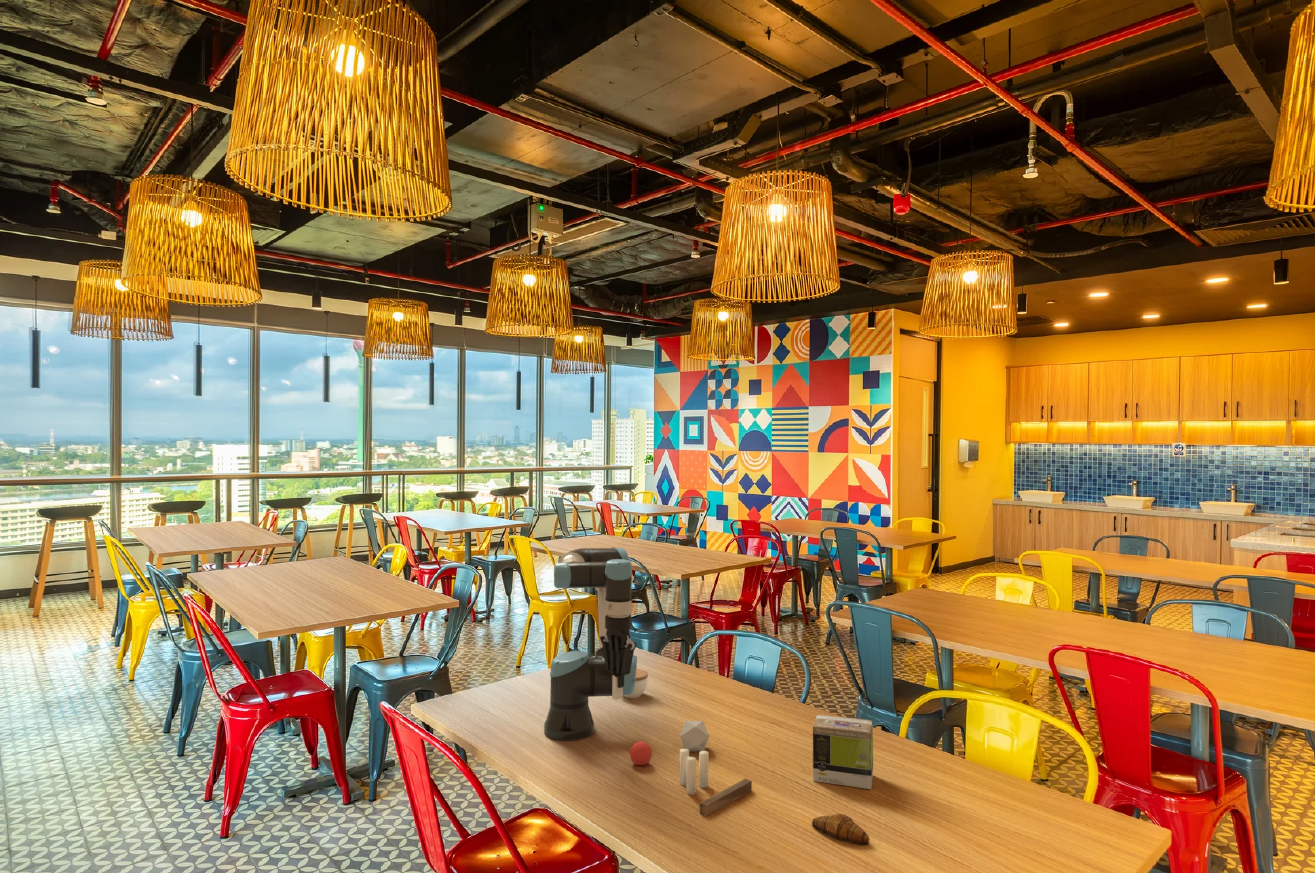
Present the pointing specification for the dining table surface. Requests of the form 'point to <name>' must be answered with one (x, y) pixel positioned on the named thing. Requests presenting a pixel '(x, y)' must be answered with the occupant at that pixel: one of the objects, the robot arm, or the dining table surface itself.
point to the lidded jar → (639, 684)
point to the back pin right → (691, 775)
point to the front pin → (683, 765)
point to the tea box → (843, 751)
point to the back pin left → (703, 769)
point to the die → (694, 735)
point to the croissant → (841, 828)
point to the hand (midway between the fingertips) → (617, 697)
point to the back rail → (725, 797)
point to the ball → (640, 753)
